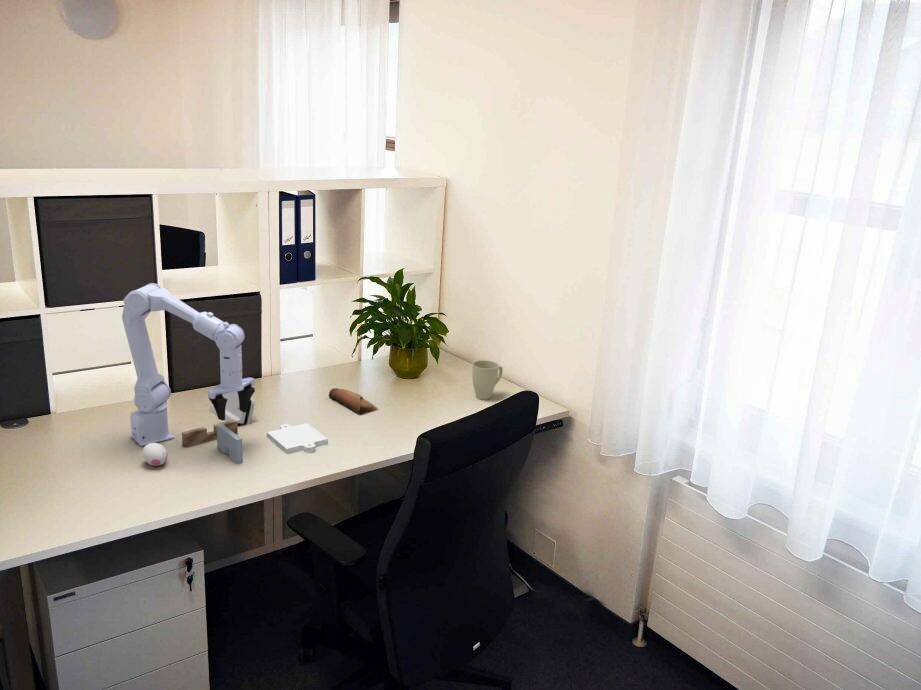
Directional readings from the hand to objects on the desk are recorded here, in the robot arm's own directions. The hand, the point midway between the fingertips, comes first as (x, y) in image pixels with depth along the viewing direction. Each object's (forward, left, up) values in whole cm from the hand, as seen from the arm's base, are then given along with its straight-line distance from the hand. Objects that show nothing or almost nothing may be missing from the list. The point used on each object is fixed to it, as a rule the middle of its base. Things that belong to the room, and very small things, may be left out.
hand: (232, 415), depth 217 cm
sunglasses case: (+46, +8, -10) cm, 48 cm away
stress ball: (-21, +2, -10) cm, 23 cm away
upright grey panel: (-3, -4, -10) cm, 11 cm away
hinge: (+10, +20, -10) cm, 24 cm away
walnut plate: (-3, +8, -10) cm, 13 cm away
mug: (+88, -11, -10) cm, 89 cm away
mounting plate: (+17, -6, -10) cm, 21 cm away
